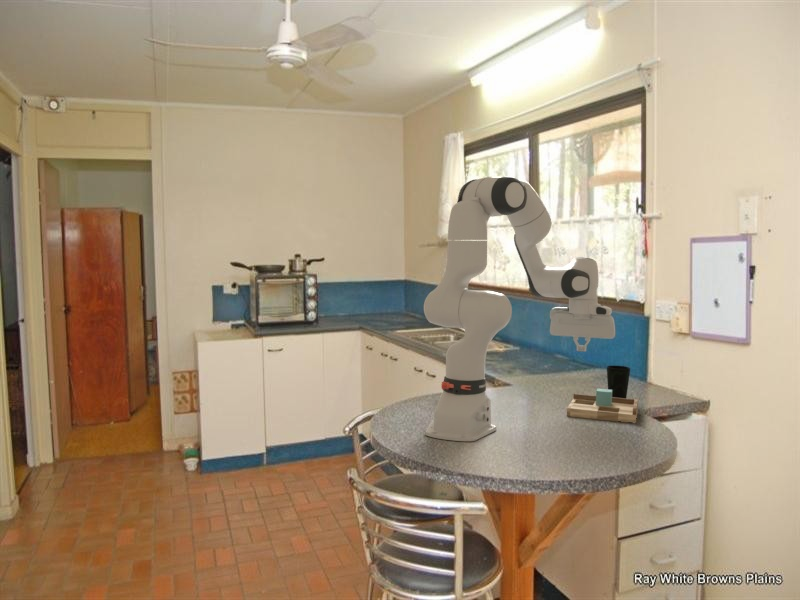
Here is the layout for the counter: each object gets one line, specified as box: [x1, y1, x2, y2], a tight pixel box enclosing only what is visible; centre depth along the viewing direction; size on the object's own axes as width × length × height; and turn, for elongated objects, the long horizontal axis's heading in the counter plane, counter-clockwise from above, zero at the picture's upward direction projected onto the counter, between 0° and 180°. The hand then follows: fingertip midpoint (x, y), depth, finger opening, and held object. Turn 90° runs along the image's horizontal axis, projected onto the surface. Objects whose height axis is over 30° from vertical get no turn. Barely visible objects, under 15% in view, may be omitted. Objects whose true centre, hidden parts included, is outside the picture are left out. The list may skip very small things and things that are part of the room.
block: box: [595, 388, 612, 406], centre depth 199 cm, size 4×4×4 cm
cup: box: [606, 364, 631, 399], centre depth 215 cm, size 8×8×12 cm
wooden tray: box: [566, 393, 639, 424], centre depth 197 cm, size 16×20×4 cm
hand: (581, 351), depth 201 cm, fingers closed
